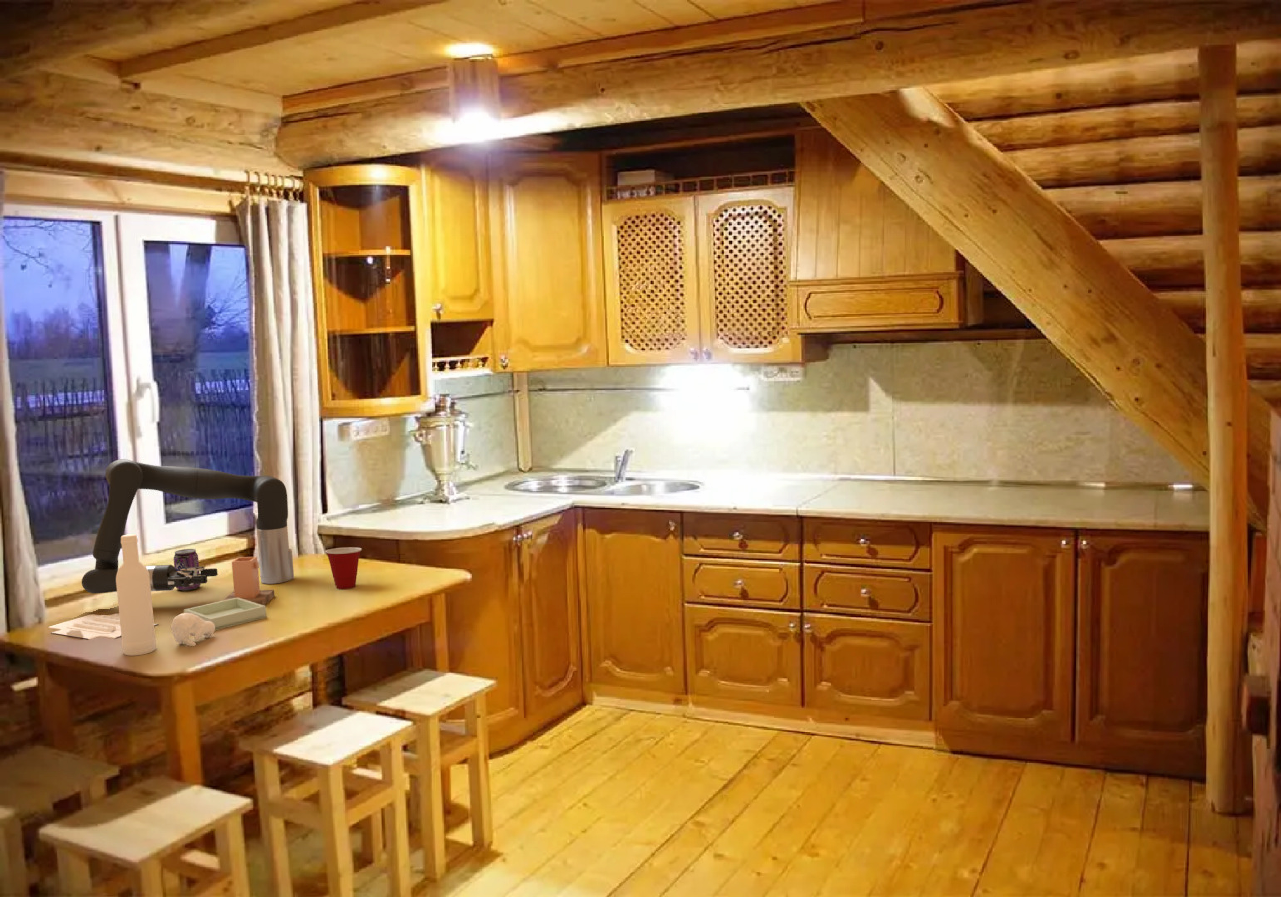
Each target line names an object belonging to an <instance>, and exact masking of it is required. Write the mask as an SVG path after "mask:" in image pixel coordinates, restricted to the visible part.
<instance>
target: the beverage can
mask: <svg viewBox="0 0 1281 897" xmlns="http://www.w3.org/2000/svg"><path fill="white" fill-rule="evenodd" d="M199 561H200V560H199V554H198V553H197V550H196V548H184V549H183V548H182V549H179V550H175V551H174V556H173V566H174V567H175V570H176V571H180V569H184V568H191V567H200V563H199ZM197 573H200V571H197ZM201 585H202V584H194V583H193V585H189V586H188V587H175V588H176V589H177V590H180V591H185V592H187V591H194V590H196V589H198V588H199V587H200V586H201Z"/></svg>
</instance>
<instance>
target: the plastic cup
mask: <svg viewBox="0 0 1281 897" xmlns="http://www.w3.org/2000/svg"><path fill="white" fill-rule="evenodd" d="M361 551H362V548H361V547H353V546H352V547H336V548H330V549H326V550H325V551H324V552H325V553H326V555H327V558H328V561H329V562H328V563H329V565H330V569H331V570H330V571H331V574H332V578H333V581H334V585H335V587H336V589H338V590H348V589H352V588H355V587H356V584H357V576H358V570H359V569H358V568H359V559H360V555H361Z"/></svg>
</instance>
